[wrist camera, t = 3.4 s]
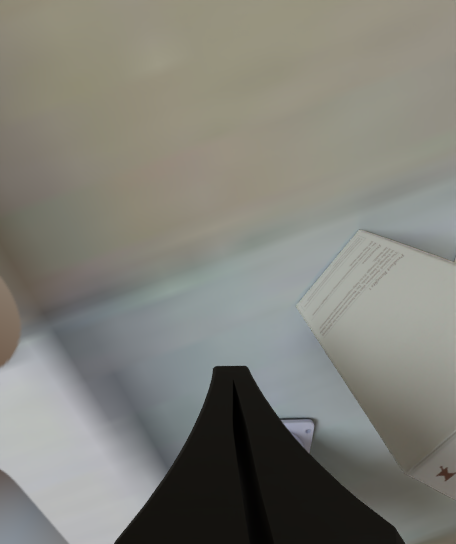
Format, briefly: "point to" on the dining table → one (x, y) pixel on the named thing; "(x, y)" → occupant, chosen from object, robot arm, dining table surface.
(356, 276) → the supplement box
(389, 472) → the dining table surface
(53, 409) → the dining table surface
